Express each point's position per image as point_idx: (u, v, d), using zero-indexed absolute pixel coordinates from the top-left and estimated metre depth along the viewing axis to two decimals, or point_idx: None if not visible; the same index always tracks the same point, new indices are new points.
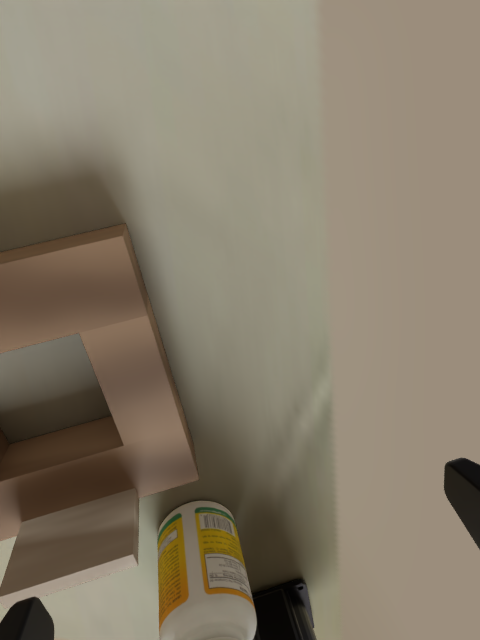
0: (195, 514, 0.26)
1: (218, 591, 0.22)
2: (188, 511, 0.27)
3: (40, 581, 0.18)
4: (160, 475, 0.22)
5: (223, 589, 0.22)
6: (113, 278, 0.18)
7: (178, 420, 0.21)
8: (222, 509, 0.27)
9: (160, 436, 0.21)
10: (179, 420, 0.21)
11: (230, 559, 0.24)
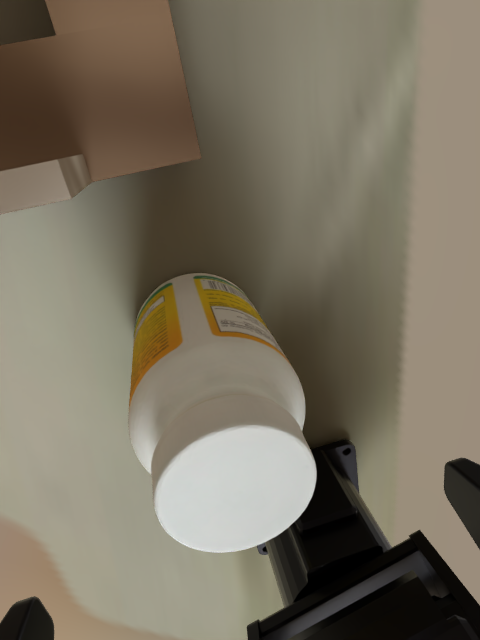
0: (194, 279, 0.16)
1: (237, 335, 0.12)
2: (184, 278, 0.16)
3: None
4: (130, 132, 0.12)
5: (246, 335, 0.12)
6: None
7: None
8: (237, 287, 0.17)
9: (126, 28, 0.11)
10: None
11: (255, 320, 0.14)
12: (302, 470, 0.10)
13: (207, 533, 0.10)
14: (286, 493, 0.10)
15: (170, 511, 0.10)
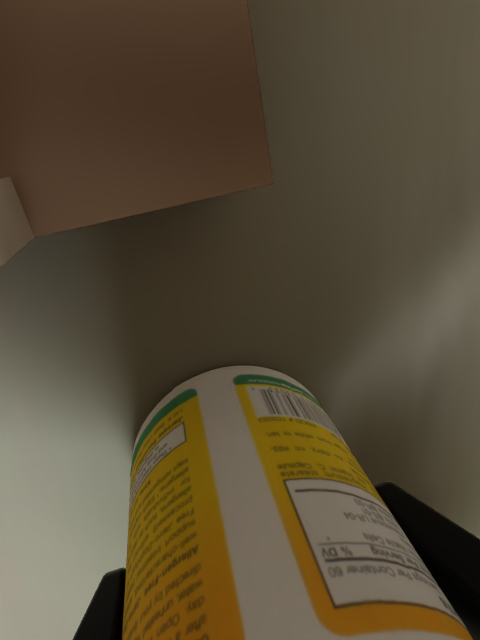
0: (236, 387, 0.09)
1: (377, 620, 0.05)
2: (217, 382, 0.10)
3: None
4: (120, 128, 0.05)
5: (394, 609, 0.05)
6: None
7: None
8: (303, 388, 0.10)
9: None
10: None
11: (370, 502, 0.07)
12: None
13: None
14: None
15: None
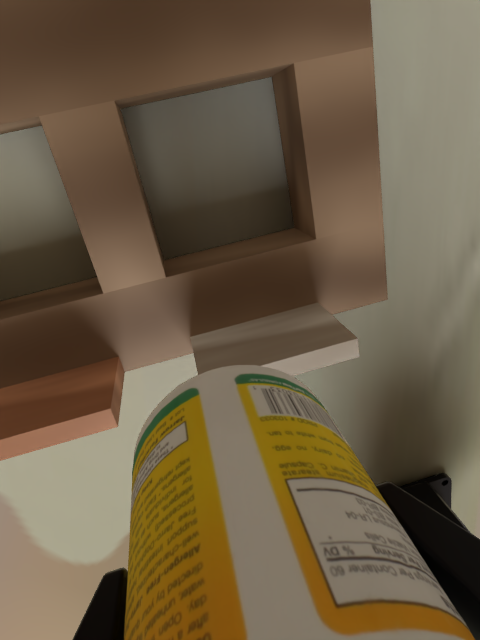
0: (237, 386, 0.09)
1: (379, 617, 0.05)
2: (219, 381, 0.10)
3: None
4: (347, 288, 0.19)
5: (395, 608, 0.05)
6: None
7: (380, 209, 0.18)
8: (304, 387, 0.10)
9: (356, 231, 0.18)
10: (381, 209, 0.18)
11: (372, 501, 0.07)
12: None
13: None
14: None
15: None
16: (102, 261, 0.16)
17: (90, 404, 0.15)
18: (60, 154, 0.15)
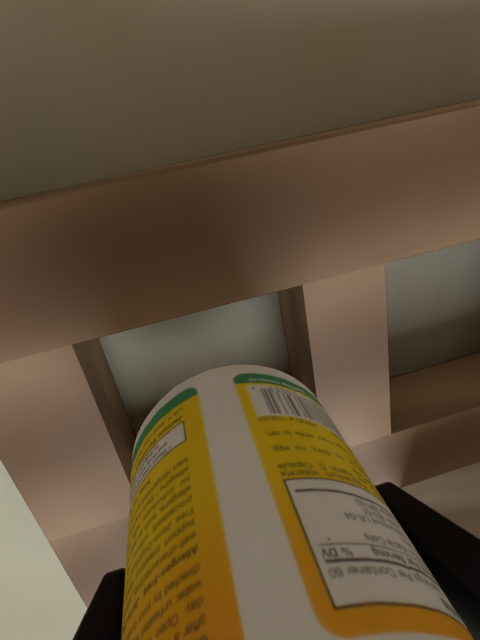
0: (236, 386, 0.09)
1: (378, 620, 0.05)
2: (217, 381, 0.09)
3: None
4: None
5: (395, 610, 0.05)
6: None
7: None
8: (304, 387, 0.10)
9: None
10: None
11: (371, 501, 0.07)
12: None
13: None
14: None
15: None
16: None
17: None
18: (315, 321, 0.12)
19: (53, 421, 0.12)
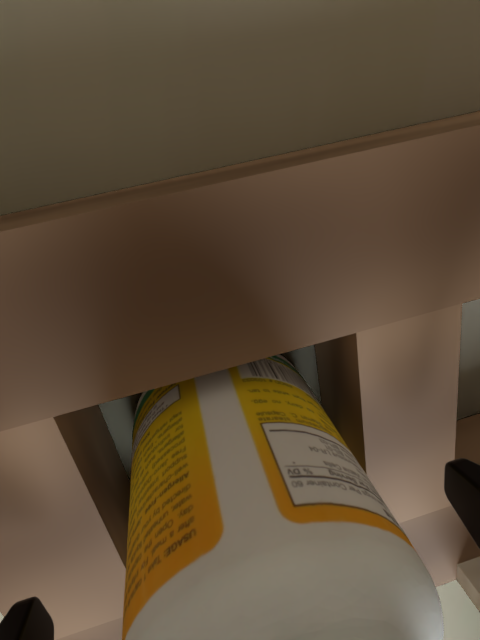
0: None
1: (327, 513, 0.06)
2: None
3: None
4: None
5: (342, 508, 0.06)
6: None
7: None
8: (284, 359, 0.12)
9: None
10: None
11: (333, 442, 0.08)
12: None
13: None
14: None
15: None
16: (382, 497, 0.11)
17: None
18: (369, 378, 0.10)
19: (30, 510, 0.09)
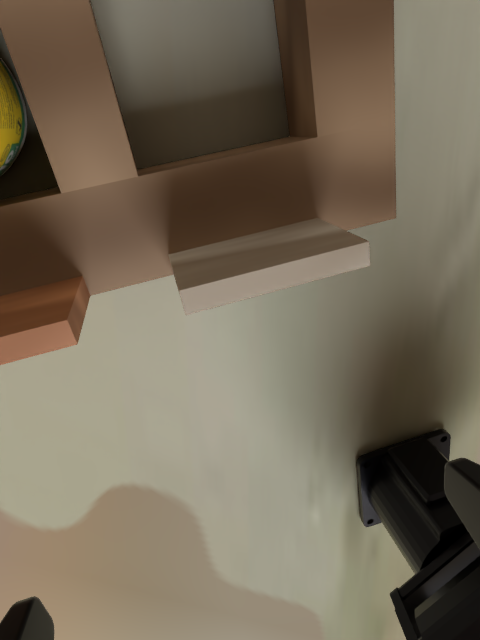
0: None
1: None
2: None
3: (238, 273, 0.12)
4: (351, 201, 0.16)
5: None
6: None
7: (392, 103, 0.15)
8: None
9: (364, 130, 0.15)
10: (393, 104, 0.15)
11: None
12: None
13: None
14: None
15: None
16: (59, 150, 0.13)
17: (43, 318, 0.12)
18: None
19: None
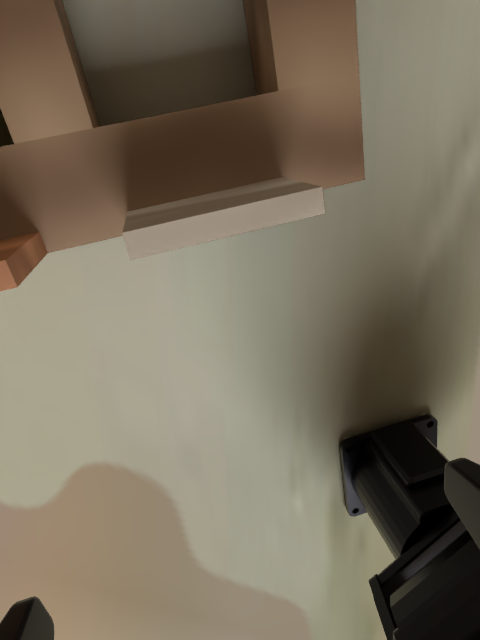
0: None
1: None
2: None
3: (185, 217, 0.12)
4: (317, 161, 0.16)
5: None
6: None
7: (355, 56, 0.15)
8: None
9: (327, 84, 0.15)
10: (356, 57, 0.15)
11: None
12: None
13: None
14: None
15: None
16: (10, 98, 0.13)
17: None
18: None
19: None
